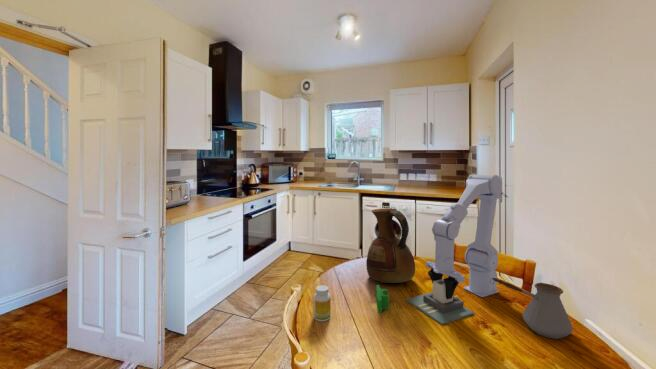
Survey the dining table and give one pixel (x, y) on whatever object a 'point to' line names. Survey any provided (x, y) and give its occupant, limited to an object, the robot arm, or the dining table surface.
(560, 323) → the coffee pot
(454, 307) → the header socket
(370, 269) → the ceramic pitcher
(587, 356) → the dining table surface
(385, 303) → the pipe clamp
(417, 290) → the dining table surface
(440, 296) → the plug
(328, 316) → the supplement bottle
